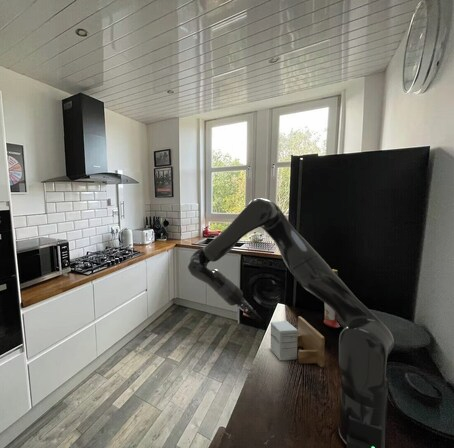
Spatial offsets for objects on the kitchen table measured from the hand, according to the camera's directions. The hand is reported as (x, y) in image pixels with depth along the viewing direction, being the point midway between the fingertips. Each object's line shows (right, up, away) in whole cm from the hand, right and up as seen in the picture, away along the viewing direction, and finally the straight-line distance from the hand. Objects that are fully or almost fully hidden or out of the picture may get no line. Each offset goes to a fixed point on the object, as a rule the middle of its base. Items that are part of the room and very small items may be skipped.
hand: (258, 318), depth 100 cm
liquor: (+45, -12, +20) cm, 50 cm away
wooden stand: (+18, -15, +1) cm, 24 cm away
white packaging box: (+11, -16, +2) cm, 19 cm away
